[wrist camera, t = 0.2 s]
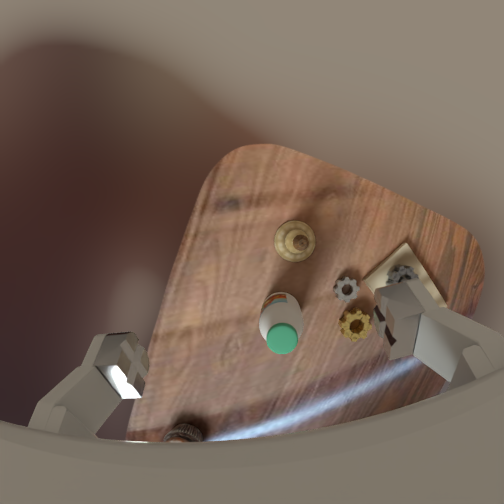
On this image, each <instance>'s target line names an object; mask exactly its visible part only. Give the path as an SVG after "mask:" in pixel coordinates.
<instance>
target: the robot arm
mask: <svg viewBox="0 0 504 504" xmlns="http://www.w3.org/2000/svg"><path fill="white" fill-rule="evenodd" d="M374 299H375V301H376V303H377V305H376V307H375V308H374V323H375V327H376V330H377V333H378V335H379V336H380V337H382V338H383V339H384V341H383V347H384V349H385V351H386V354H387V356H388V358H389V360H393V359H397V358H401V357H405V356H408V355H412V354H413V356H415V357H416V358H417V359H419V360H420V361H421V362H423V363H424V364H425V365H427V366H428V367H430V368H431V369H432V370H434V371H435V372H436V373H438V374H439V375H440V376H442V377H443V378H445V379H446V380H447V381H449V382H450V384H449V387H448V389H447V391H446V392H444V393H442V394H439V395H436V396H434V397H431V398H428V399H425V400H422V401H420V402H417V403H414V404H411V405H408V406H404V407H401V408H398V409H395V410H392V411H388V412H385V413H381V414H378V415H374V416H370V417H366V418H363V419H359V420H355V421H350V422H346V423H342V424H337V425H333V426H328V427H323V428H318V429H313V430H307V431H301V432H295V433H289V434H282V435H275V436H267V437H259V438H250V439H239V440H226V441H209V442H137V441H120V440H119V441H118V440H108V439H99V438H98V437H97V436H95V435H94V434H95V433H96V432H97V430H98V429H99V428H100V427H101V426H102V424H103V423H104V422H105V420H106V419H107V418H108V417H109V415H110V414H111V413H112V412H113V410H114V409H115V408H116V407H117V405H118V404H119V403H120V401H121V400H122V398H142V395H143V391H144V387H145V381H144V379H143V378H144V377H145V376H146V375H147V373H148V370H149V358H148V355H147V352H146V351H145V349H144V348H143V347H142V346H140V345H138V340H139V339H138V338H137V336H136V334H135V333H134V332H121V333H109V334H99V335H96V336H95V337H94V339H93V341H92V343H91V345H90V347H89V350H88V352H87V354H86V356H85V359H84V361H83V363H82V365H81V367H77V368H76V369H75V370H74V371H73V372H71V373H70V374H69V375H68V376H67V377H66V378H65V379H64V380H62V381H61V382H60V383H59V384H58V385H57V386H56V387H55V388H53V389H52V390H51V391H50V392H49V393H48V394H47V395H46V396H45V397H43V398H42V399H41V400H40V401H39V402H38V403H37V406H36V408H35V410H34V413H33V415H32V418H31V420H30V423H29V425H28V427H24V426H20V425H15V424H11V423H7V422H3V421H0V504H504V338H503V337H502V335H501V334H500V333H499V332H497V331H494V330H492V329H490V328H488V327H486V326H484V325H482V324H480V323H477V322H475V321H473V320H471V319H469V318H467V317H465V316H463V315H460V314H458V313H456V312H454V311H452V310H450V309H447V308H445V307H441V308H440V307H439V306H438V304H437V303H436V302H435V300H434V299H433V297H432V296H431V294H430V293H429V292H428V290H427V289H426V288H425V286H424V285H423V283H422V282H421V281H420V279H418V278H414V279H410V280H407V281H403V282H400V283H396V284H392V285H388V286H384V287H380V288H376V289H375V292H374Z"/></svg>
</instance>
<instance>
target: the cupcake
mask: <svg viewBox="0 0 504 504" xmlns="http://www.w3.org/2000/svg"><path fill="white" fill-rule="evenodd" d="M163 441H164V442H203V435H202V433H201V432H200V431H199V429H198V428H196V427H195V426H193V425H190V424H179V425H177V426H176V427H175V428H174V429H172V430H171V431H170V432H169V433H168V434H167V435H166V436H165V438H164V440H163Z"/></svg>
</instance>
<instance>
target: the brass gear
mask: <svg viewBox="0 0 504 504" xmlns="http://www.w3.org/2000/svg"><path fill="white" fill-rule="evenodd" d="M343 314H344V316H343V317H344V318H342V319H339V323H338V324H339V325H340V327H341V328H342V329H341V330H340V331H341V333H342V334H343V335H344V337H345V338H347V337H349V338H350V339H351V341H356V342H357V339H359V337H360V338H363V339H364V338H366V337H367V335H366V333H367V332H366V331H368V329H370V330H371V328H372V324H370V323H369V319H370V317H369V315H368V314H367V313H366V312H364V311H363V312H362V311H361V310H360V309H359V308H353V310H351V312H350V311H349V312H348V311H347V310H346V311H344V312H343ZM355 319H360V325H359V326H358V327H357V328H356V329H349V328H350V323H351V322H352V321H353V320H355Z"/></svg>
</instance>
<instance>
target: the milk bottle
mask: <svg viewBox="0 0 504 504" xmlns="http://www.w3.org/2000/svg"><path fill="white" fill-rule="evenodd" d="M303 326H304V322H303V316H302V312H301V309H300V306H299V304H298V302H297V300H296V299H295V298H294V297H293V296H292V295H290V294H288V293H285V292H277V293H273V294H271V295H270V296H268V297H267V298H266V300H265V301H264V303H263V305H262V309H261V314H260V320H259V327H260V331H261V334H262V336H263V337H264V339H265V340H266V341H267V345H268V347H269V348H270V349H271V350H272V351H273V352H275V353H278V354H286V353H289V352H291V351H292V350H293V349H294V348H295V347H296V345H297V343H298V338H299V337H300V336H301V334H302V331H303Z"/></svg>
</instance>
